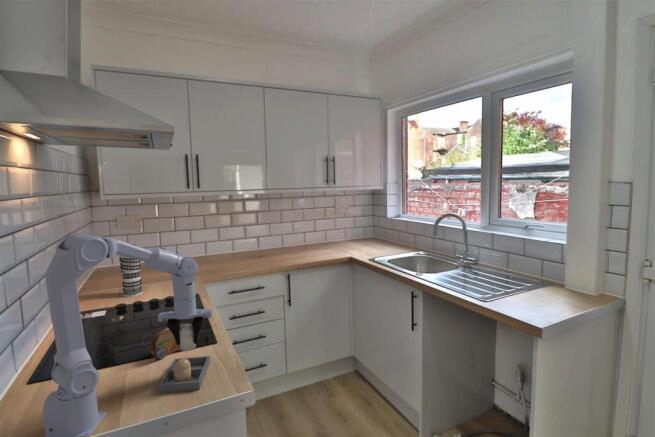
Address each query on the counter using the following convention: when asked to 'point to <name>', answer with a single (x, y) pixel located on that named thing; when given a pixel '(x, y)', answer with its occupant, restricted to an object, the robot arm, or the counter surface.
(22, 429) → the counter surface
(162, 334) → the tin
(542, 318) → the counter surface
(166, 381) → the grey shallow tray
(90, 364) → the robot arm
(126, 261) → the decorative candle
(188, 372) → the brown egg
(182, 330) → the egg
